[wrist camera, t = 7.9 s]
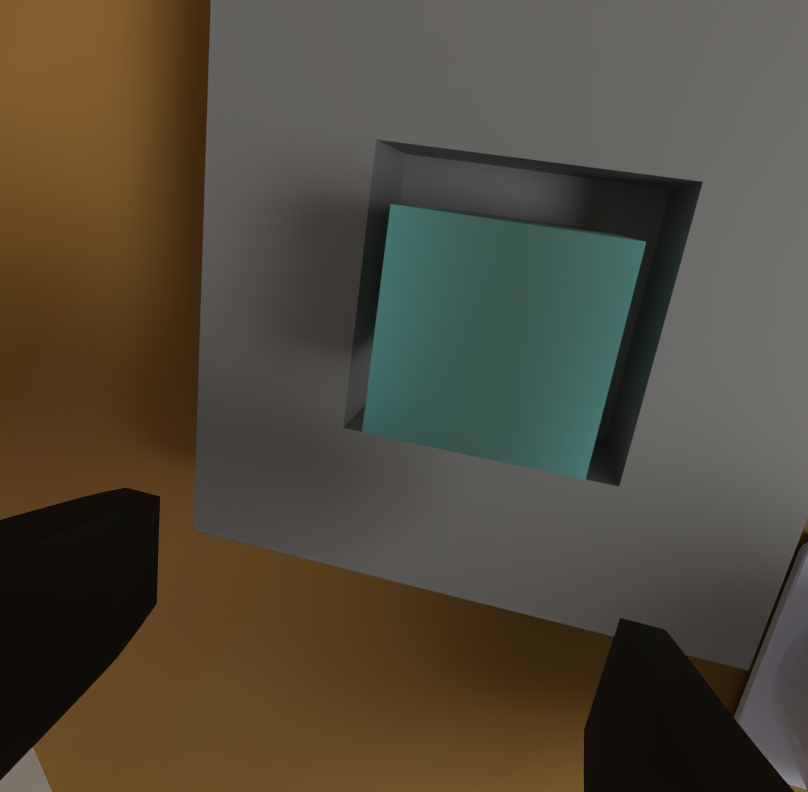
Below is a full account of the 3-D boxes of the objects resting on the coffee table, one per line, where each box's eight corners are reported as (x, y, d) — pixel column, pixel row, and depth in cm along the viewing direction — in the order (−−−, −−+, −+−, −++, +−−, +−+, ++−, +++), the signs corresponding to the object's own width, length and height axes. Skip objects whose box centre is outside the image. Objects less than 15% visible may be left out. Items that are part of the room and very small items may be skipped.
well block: (888, 34, 13) (1023, -38, 10) (704, 574, 18) (748, 670, 14) (292, -18, 16) (213, -93, 12) (258, 471, 20) (193, 530, 16)
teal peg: (600, 231, 15) (646, 241, 8) (567, 371, 16) (585, 479, 9) (455, 209, 15) (390, 204, 9) (433, 346, 16) (362, 432, 10)
